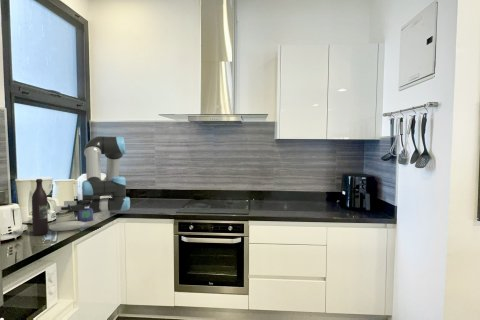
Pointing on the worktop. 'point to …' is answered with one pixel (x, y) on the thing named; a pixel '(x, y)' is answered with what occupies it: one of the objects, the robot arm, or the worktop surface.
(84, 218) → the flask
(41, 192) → the wine bottle
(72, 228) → the ceramic dish
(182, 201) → the worktop surface
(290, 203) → the worktop surface
